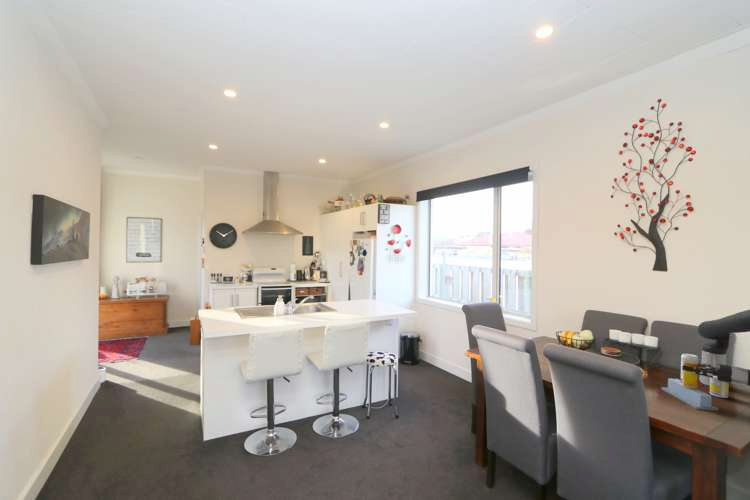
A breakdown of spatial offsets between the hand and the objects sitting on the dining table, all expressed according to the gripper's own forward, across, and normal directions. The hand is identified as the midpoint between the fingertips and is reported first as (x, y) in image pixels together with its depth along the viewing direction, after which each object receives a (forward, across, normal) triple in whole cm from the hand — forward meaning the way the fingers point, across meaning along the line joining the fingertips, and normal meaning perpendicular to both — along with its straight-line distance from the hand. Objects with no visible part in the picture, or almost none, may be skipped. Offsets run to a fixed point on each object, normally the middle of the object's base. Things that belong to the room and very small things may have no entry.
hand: (682, 365), depth 170 cm
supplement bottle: (-14, -17, +16) cm, 27 cm away
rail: (-2, 0, +15) cm, 15 cm away
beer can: (-2, 0, +10) cm, 10 cm away
